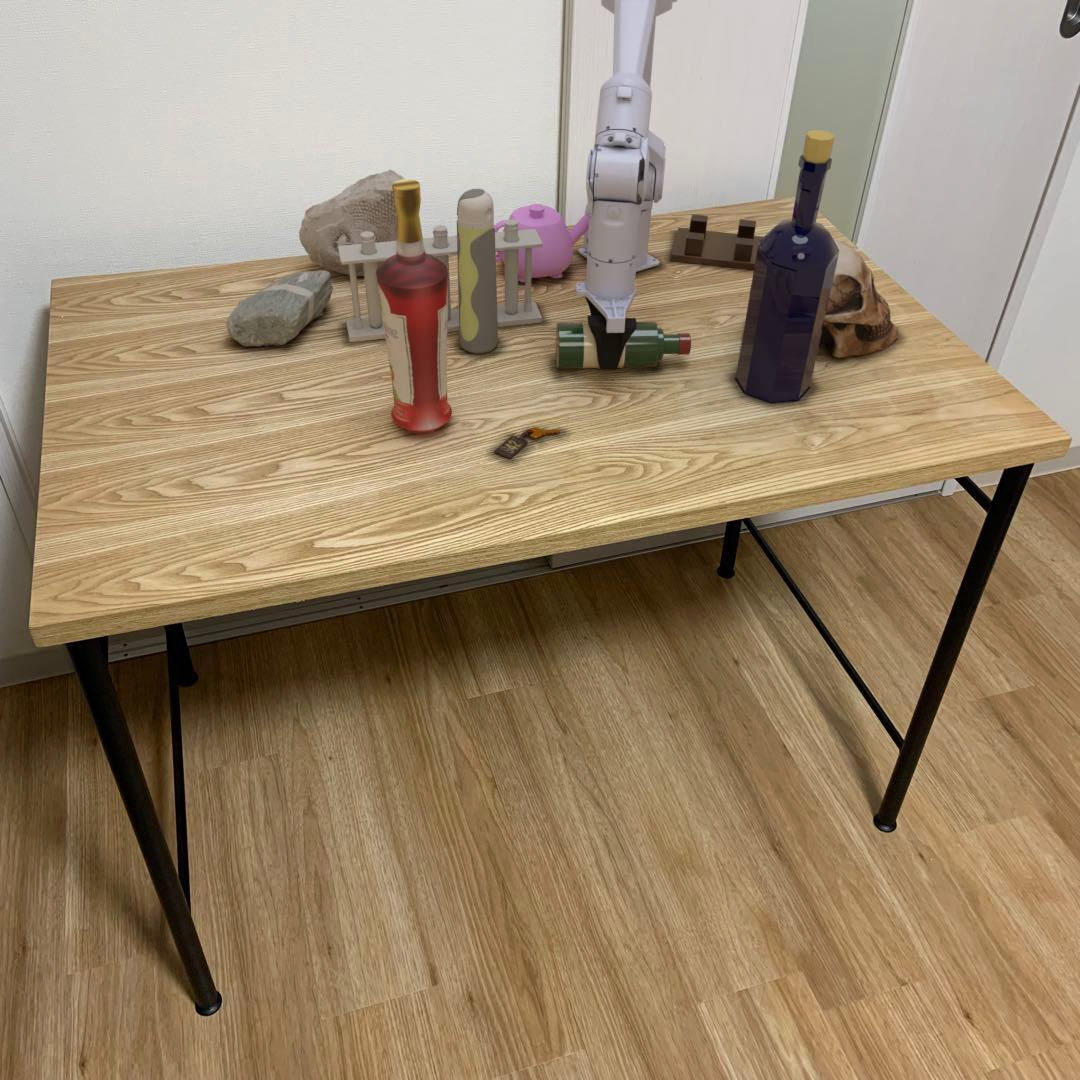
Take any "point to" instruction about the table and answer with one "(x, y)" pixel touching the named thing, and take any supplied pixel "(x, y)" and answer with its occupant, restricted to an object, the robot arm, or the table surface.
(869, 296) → the skull
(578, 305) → the table surface
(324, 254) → the fossil
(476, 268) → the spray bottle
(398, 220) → the liquor
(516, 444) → the key tag
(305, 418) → the table surface
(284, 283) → the decorative stone
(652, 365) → the wine bottle
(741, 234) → the wine rack
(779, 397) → the bottle
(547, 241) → the teapot
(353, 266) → the test tube rack
